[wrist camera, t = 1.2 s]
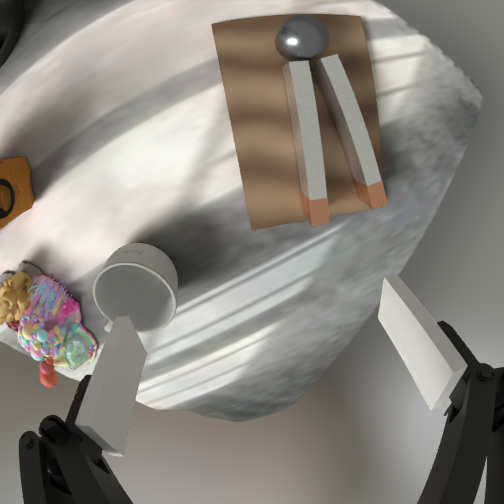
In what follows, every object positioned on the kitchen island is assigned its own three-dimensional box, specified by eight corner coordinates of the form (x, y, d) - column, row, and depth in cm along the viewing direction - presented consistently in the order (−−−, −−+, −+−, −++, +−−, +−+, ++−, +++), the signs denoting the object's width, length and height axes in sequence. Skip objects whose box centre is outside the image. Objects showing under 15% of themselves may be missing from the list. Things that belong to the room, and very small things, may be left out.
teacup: (147, 218, 36) (128, 245, 28) (199, 275, 40) (194, 311, 33) (88, 273, 38) (66, 304, 31) (136, 318, 43) (124, 354, 36)
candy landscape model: (-11, 298, 40) (-33, 324, 32) (25, 236, 35) (-7, 265, 27) (67, 374, 50) (55, 405, 42) (125, 339, 45) (111, 379, 37)
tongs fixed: (271, 26, 24) (276, 15, 21) (313, 24, 24) (324, 14, 20) (301, 213, 35) (310, 226, 31) (339, 207, 35) (351, 219, 31)
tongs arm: (309, 64, 27) (320, 58, 23) (325, 59, 26) (337, 53, 23) (359, 199, 35) (373, 209, 31) (372, 193, 34) (387, 203, 31)
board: (212, 27, 25) (211, 23, 24) (355, 19, 25) (360, 16, 23) (250, 225, 37) (251, 230, 36) (377, 203, 37) (382, 207, 36)
